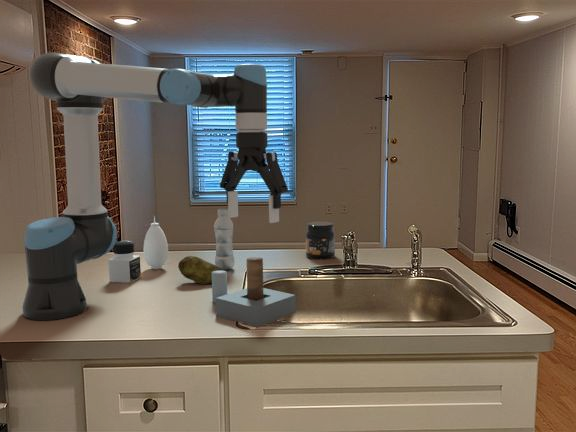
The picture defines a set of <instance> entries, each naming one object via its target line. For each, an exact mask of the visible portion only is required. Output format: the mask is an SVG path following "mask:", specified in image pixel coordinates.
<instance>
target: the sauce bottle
mask: <svg viewBox="0 0 576 432" xmlns="http://www.w3.org/2000/svg"><path fill="white" fill-rule="evenodd" d="M168 244H169V243H168V241H167V237H166V235H165V233H164V231H163V229H162V228H161V227H160V223H159V222H156V216H155V215H153V222H152V223H150V227H149V228H148V229H147V232H146V234H145V236H144V241H143V249H142V250H143V257H144V261H145V263H146V264H147V266H149V267H150V268H151V269H154V270H156V271H157V270H160V269H162V268H163V266H165V265H166V263H167V260H168V258H169V245H168Z"/></svg>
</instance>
